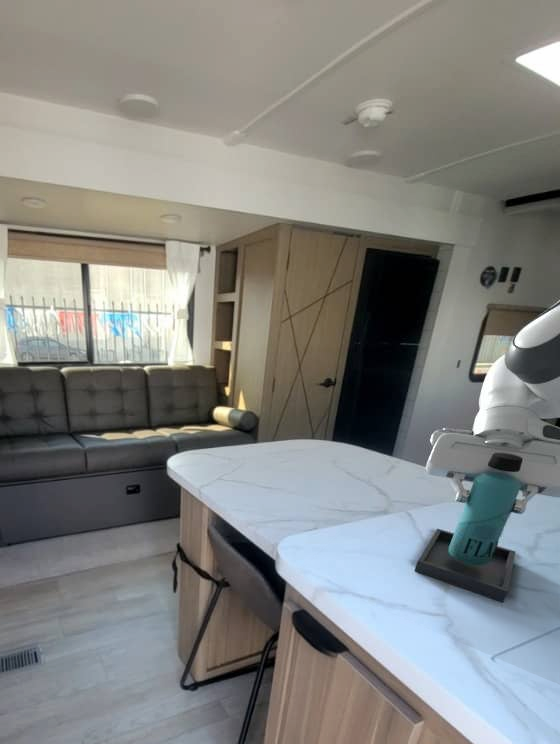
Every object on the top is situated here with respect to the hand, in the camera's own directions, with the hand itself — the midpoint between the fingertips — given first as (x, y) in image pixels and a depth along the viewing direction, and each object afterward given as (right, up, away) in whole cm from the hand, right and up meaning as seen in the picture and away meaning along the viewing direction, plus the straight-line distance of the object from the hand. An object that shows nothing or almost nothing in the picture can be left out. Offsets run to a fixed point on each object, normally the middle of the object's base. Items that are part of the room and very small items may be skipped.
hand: (488, 506), depth 67 cm
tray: (0, -11, +6) cm, 12 cm away
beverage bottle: (0, -10, +6) cm, 12 cm away
